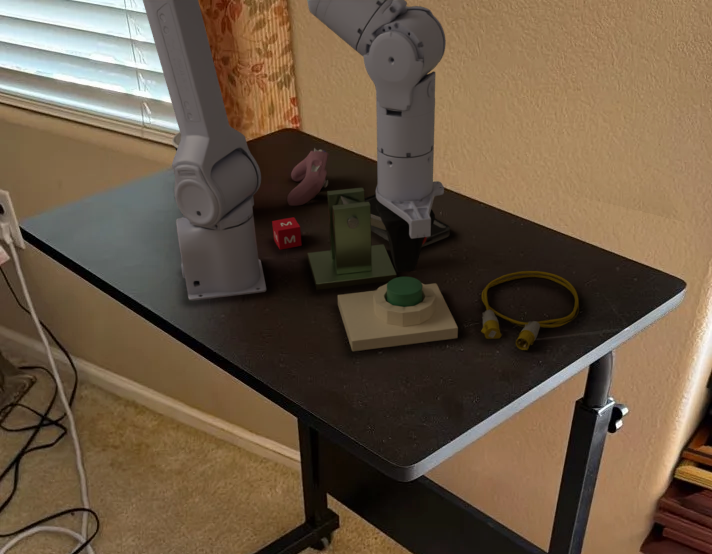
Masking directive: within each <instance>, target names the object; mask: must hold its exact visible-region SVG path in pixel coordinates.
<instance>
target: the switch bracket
mask: <svg viewBox="0 0 712 554" xmlns="http://www.w3.org/2000/svg"><path fill="white" fill-rule="evenodd" d="M341 196H343V197H345V198H348V199H351V200H354V201H357V202H360V203H353V204H343V205H337V204H338V202H339V199H340V197H341ZM326 198H327V212H328V213H327V215H328V232H329V248H330V249H329V250H321V251H312V252H307V261H308V265H309V268H310V271H311V276H312V279H313V282H314V287H315V289H316V291H320V290H329V289H336V288H344V287H345V288H347V287H354V286H361V285H370V284H378V283H379V284H380V283H388V282H389V281H390V280H392V279H394V278H398V276H397V271H396V269H395V266H394V264H393V262H392V260H391V258H390V255H389V253H388V251H387V249H386V246H385V244H383V243H382V244H374V245H373V244H372V231H371V211H370V203H369V202H364V198H365V190H364V187H354V188H345V189H337V190H327V192H326Z"/></svg>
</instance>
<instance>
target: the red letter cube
mask: <svg viewBox="0 0 712 554" xmlns="http://www.w3.org/2000/svg"><path fill="white" fill-rule="evenodd" d="M271 223H272V233H273V240H274V243H275V245H276V246H277V247H278V249H279V251H281V250H285V249H286V250H287V249H291V248H296V247H301V246H302V232H301V226H300V224H299V223H298V221H297V220H296V218H295V217H287V218H281V219H277V220H272V221H271Z"/></svg>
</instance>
